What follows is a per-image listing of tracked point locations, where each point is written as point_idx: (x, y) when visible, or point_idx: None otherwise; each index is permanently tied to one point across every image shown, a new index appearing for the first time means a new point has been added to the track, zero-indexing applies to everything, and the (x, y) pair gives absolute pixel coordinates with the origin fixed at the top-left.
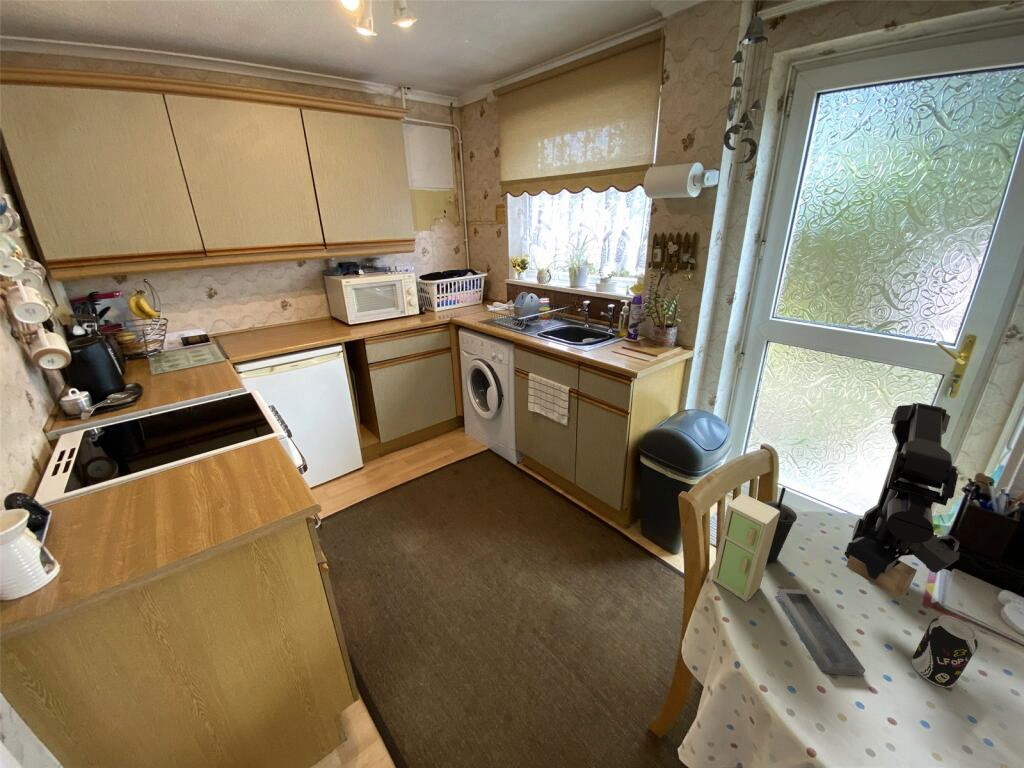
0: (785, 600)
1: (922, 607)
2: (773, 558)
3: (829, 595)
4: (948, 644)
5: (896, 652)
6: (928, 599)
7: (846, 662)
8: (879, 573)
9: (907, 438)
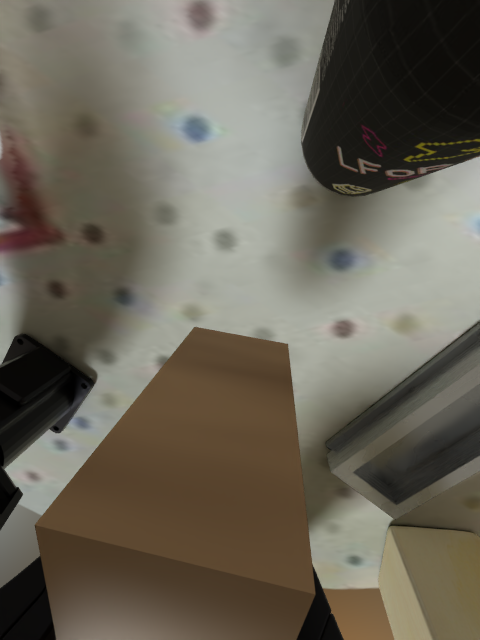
0: (428, 498)
1: (70, 238)
2: None
3: None
4: None
5: (346, 237)
6: (17, 236)
7: None
8: (312, 564)
9: None
